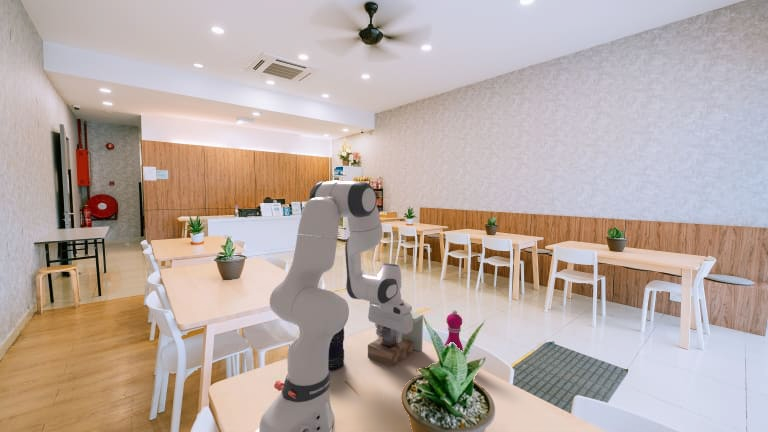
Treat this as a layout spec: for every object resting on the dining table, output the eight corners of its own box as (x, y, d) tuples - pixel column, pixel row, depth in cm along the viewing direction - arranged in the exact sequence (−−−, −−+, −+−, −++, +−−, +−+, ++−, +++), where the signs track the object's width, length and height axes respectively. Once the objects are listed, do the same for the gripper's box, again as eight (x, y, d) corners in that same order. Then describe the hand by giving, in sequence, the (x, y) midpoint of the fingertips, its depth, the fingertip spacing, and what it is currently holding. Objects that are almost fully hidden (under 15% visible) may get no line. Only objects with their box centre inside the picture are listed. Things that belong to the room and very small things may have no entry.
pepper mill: (464, 365, 118) (466, 314, 117) (445, 365, 118) (447, 313, 117) (460, 355, 125) (461, 307, 124) (442, 355, 126) (443, 306, 124)
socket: (391, 367, 116) (391, 354, 116) (367, 356, 124) (367, 344, 123) (412, 353, 127) (413, 341, 126) (389, 343, 134) (389, 332, 134)
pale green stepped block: (414, 356, 124) (414, 319, 123) (383, 344, 134) (383, 309, 133) (422, 351, 129) (423, 314, 127) (391, 339, 139) (392, 305, 138)
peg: (390, 359, 122) (390, 330, 121) (382, 356, 124) (382, 327, 123) (396, 355, 125) (396, 326, 124) (388, 352, 127) (388, 323, 126)
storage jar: (313, 369, 114) (313, 330, 113) (323, 356, 124) (323, 319, 122) (339, 373, 112) (339, 332, 111) (347, 358, 122) (347, 321, 121)
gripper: (365, 299, 127) (364, 332, 128) (406, 312, 114) (405, 348, 115) (375, 295, 132) (374, 327, 133) (415, 307, 119) (414, 342, 120)
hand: (389, 337), depth 124 cm, fingers open, 8 cm apart
